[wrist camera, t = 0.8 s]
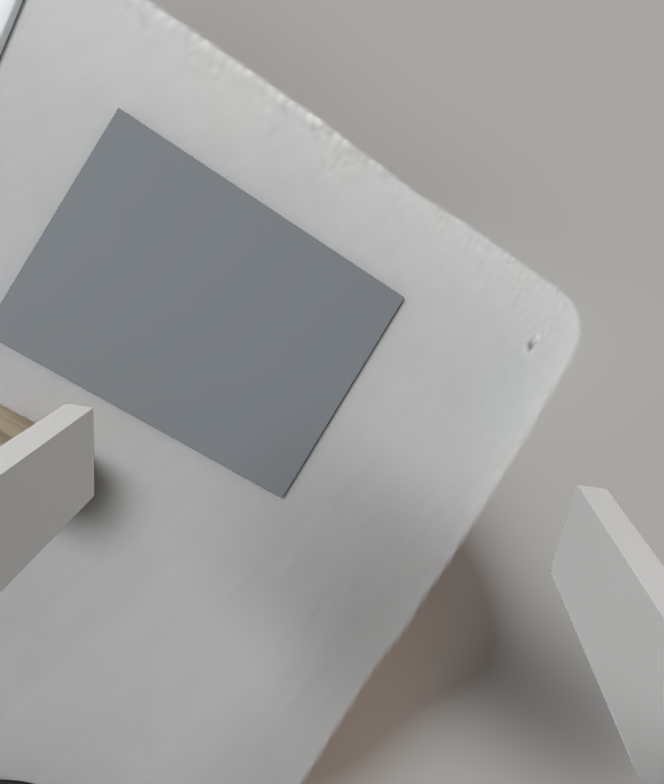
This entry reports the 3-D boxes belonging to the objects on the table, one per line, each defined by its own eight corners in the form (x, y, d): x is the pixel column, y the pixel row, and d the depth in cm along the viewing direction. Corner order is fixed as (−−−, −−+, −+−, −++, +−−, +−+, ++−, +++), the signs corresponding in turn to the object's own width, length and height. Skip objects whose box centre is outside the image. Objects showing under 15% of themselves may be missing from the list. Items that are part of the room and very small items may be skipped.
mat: (281, 495, 45) (281, 498, 44) (-14, 332, 40) (-17, 332, 39) (402, 297, 44) (404, 297, 44) (120, 111, 40) (118, 107, 39)
